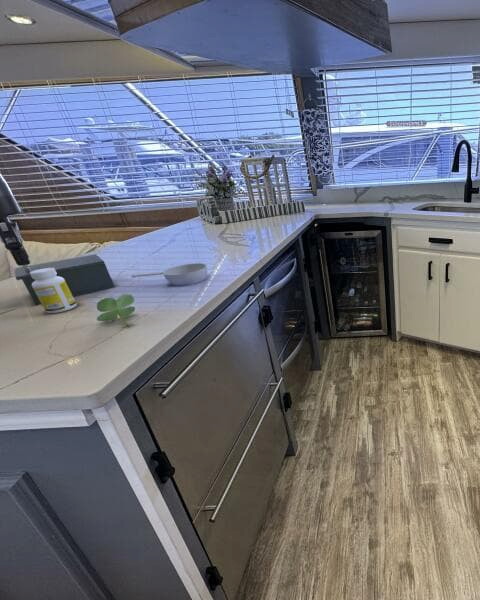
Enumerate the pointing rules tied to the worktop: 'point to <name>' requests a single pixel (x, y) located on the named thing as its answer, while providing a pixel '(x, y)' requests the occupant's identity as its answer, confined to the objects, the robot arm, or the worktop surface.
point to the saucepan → (182, 274)
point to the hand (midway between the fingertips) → (24, 261)
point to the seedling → (115, 308)
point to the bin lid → (59, 265)
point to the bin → (79, 281)
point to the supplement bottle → (52, 291)
